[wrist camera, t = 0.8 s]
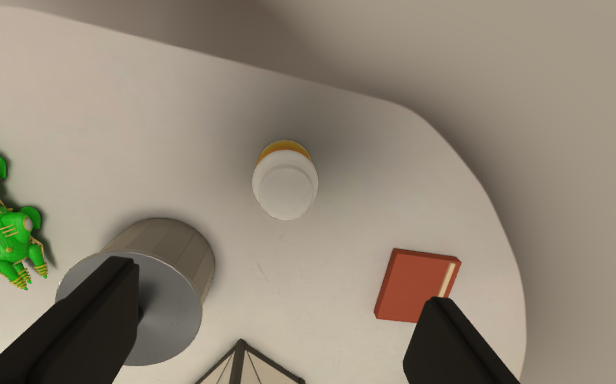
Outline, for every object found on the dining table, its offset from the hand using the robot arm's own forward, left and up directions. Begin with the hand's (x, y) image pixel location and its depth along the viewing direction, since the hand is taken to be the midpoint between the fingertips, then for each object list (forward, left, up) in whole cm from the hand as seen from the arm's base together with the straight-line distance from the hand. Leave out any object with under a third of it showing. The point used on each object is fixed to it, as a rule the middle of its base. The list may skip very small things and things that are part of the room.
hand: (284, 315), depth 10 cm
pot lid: (+13, -11, -14) cm, 22 cm away
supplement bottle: (0, 0, -22) cm, 22 cm away
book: (+12, +18, -22) cm, 31 cm away
